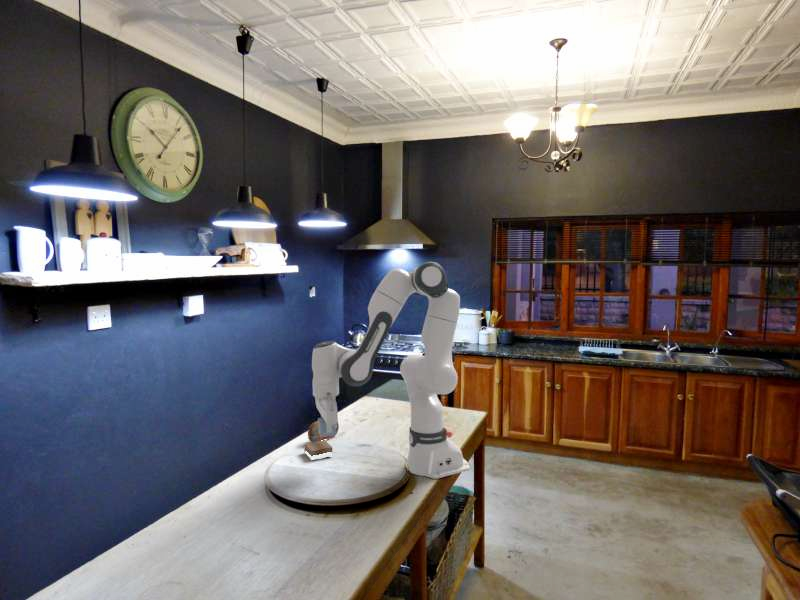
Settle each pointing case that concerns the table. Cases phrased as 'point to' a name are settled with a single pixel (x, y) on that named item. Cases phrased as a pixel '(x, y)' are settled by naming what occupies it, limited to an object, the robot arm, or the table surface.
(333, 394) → the robot arm
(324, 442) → the walnut block
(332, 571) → the table surface
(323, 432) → the blue cube
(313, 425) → the tin
